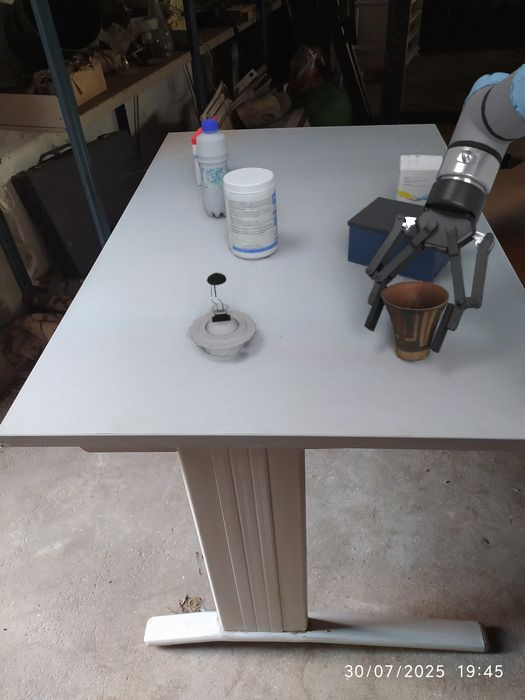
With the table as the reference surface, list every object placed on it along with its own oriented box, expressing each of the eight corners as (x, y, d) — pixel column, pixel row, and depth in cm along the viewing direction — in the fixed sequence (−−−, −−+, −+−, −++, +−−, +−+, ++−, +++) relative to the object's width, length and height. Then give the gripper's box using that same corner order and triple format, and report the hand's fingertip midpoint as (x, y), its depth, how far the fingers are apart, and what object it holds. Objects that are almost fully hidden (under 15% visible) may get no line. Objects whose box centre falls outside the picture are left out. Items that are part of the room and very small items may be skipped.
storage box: (459, 254, 100) (466, 214, 95) (433, 285, 92) (440, 243, 87) (373, 234, 109) (376, 196, 104) (343, 260, 101) (345, 220, 96)
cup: (397, 323, 84) (404, 267, 78) (450, 346, 79) (462, 288, 73) (363, 350, 79) (368, 292, 73) (417, 376, 74) (427, 317, 68)
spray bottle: (204, 173, 141) (197, 114, 132) (222, 173, 140) (217, 114, 131) (196, 186, 134) (188, 124, 125) (216, 186, 133) (209, 124, 124)
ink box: (436, 226, 110) (445, 169, 103) (393, 224, 112) (399, 168, 104) (434, 208, 117) (442, 154, 109) (394, 207, 118) (399, 153, 111)
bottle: (220, 204, 124) (210, 113, 112) (239, 212, 120) (232, 118, 108) (197, 214, 121) (185, 120, 108) (217, 222, 117) (206, 126, 104)
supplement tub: (287, 252, 104) (285, 178, 95) (243, 266, 101) (236, 190, 92) (263, 234, 111) (259, 162, 102) (221, 246, 108) (213, 173, 99)
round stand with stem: (248, 252, 79) (179, 259, 78) (255, 287, 71) (179, 295, 71) (253, 320, 87) (191, 327, 86) (260, 359, 79) (192, 367, 78)
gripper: (382, 163, 77) (323, 310, 77) (544, 191, 66) (476, 360, 66) (394, 187, 83) (340, 322, 83) (543, 215, 73) (481, 370, 73)
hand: (400, 339), depth 75 cm, fingers closed on cup, 9 cm apart
